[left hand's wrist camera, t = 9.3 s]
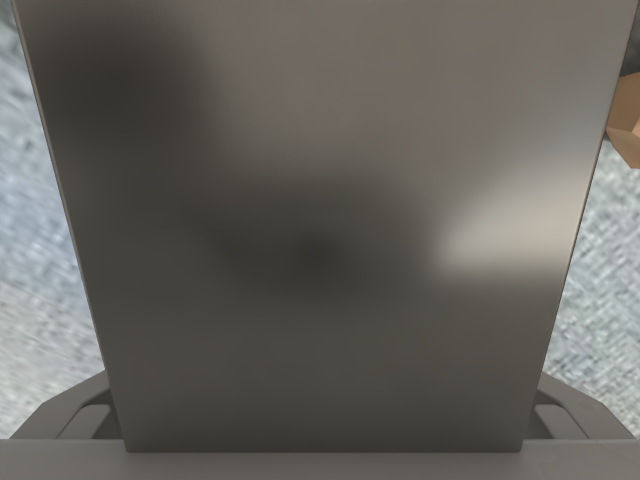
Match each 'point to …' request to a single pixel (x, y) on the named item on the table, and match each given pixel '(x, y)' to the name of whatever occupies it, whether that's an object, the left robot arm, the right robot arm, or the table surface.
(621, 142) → the squash
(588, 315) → the table surface
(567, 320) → the table surface
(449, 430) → the bar
